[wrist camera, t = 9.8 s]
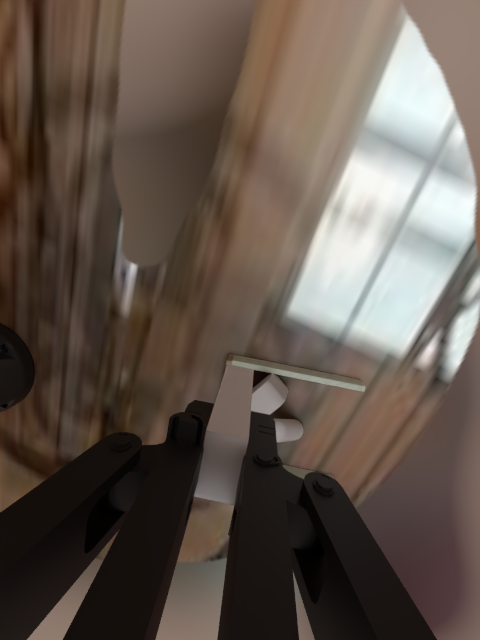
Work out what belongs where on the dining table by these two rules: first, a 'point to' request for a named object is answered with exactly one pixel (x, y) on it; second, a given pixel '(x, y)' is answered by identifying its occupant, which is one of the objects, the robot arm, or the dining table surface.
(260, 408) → the wall hook
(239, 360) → the keeper channel
